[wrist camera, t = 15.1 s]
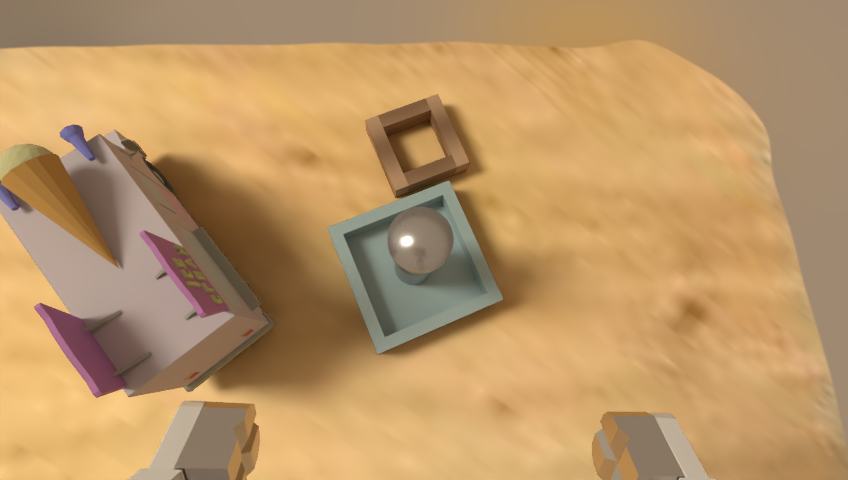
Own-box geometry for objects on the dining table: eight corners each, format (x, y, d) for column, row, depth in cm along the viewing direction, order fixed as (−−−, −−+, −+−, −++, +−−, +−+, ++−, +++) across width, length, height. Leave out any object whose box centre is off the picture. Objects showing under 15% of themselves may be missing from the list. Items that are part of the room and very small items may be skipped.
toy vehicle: (156, 148, 43) (34, 44, 28) (289, 320, 40) (231, 305, 26) (61, 210, 41) (-122, 134, 26) (193, 395, 38) (73, 424, 24)
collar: (466, 170, 44) (469, 162, 42) (395, 197, 43) (395, 190, 41) (435, 105, 45) (437, 94, 43) (366, 130, 44) (365, 120, 42)
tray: (497, 302, 42) (503, 299, 39) (378, 353, 40) (377, 354, 38) (445, 189, 44) (449, 180, 41) (330, 234, 42) (327, 227, 40)
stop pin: (445, 280, 41) (464, 256, 30) (399, 298, 41) (402, 281, 30) (426, 235, 42) (438, 197, 31) (381, 253, 41) (377, 220, 31)
